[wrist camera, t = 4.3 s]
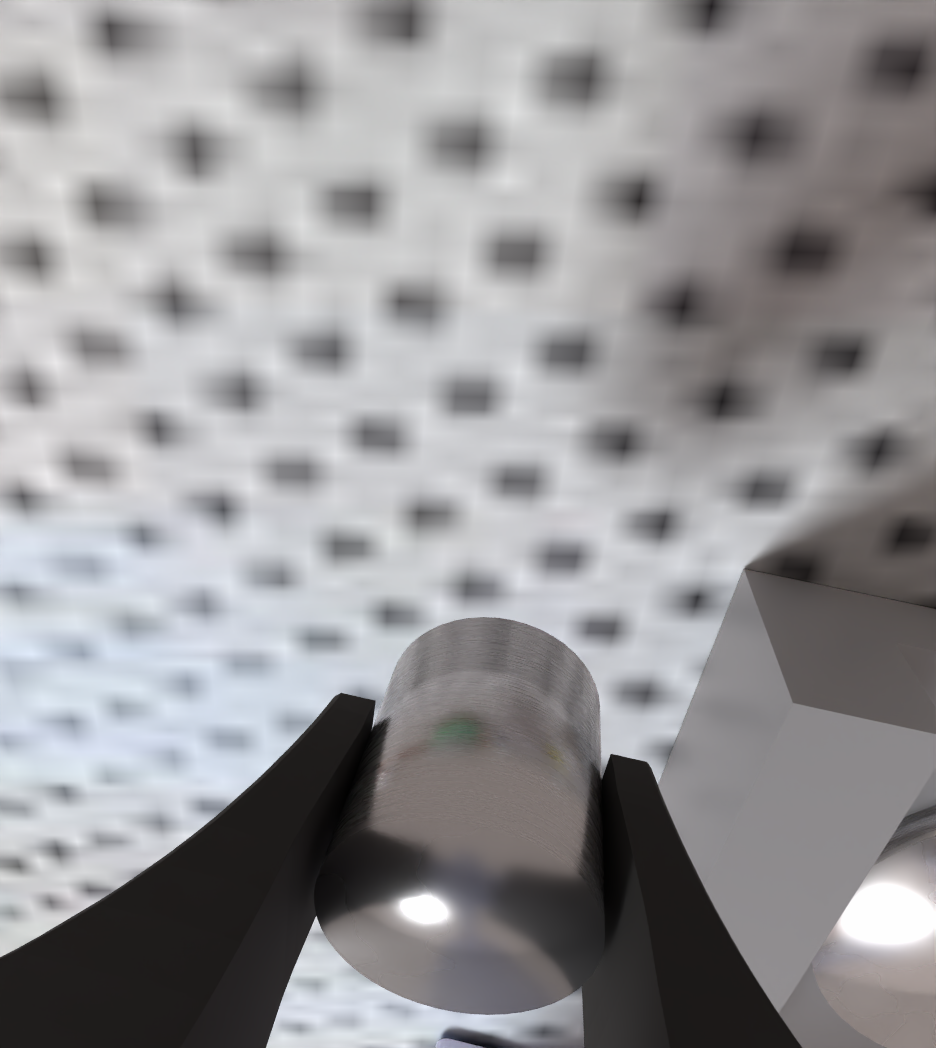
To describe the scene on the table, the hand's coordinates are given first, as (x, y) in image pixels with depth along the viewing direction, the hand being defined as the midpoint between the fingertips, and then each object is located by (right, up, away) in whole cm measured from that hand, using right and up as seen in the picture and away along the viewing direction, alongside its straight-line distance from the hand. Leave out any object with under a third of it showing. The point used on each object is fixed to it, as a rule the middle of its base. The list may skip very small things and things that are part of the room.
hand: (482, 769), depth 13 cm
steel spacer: (0, +1, +1) cm, 2 cm away
